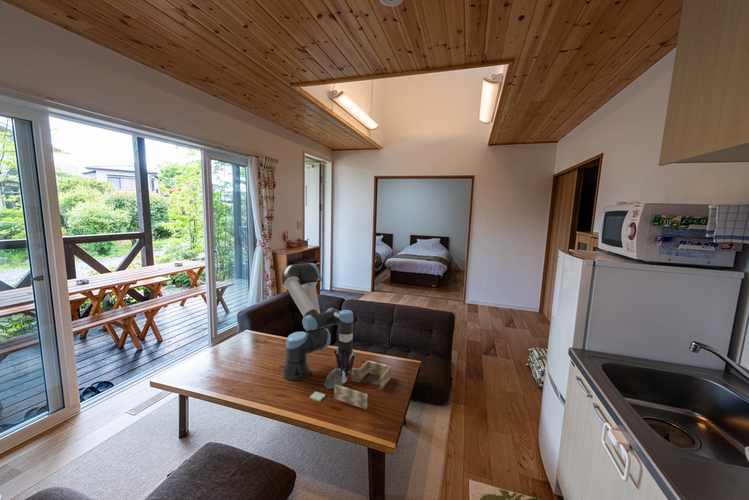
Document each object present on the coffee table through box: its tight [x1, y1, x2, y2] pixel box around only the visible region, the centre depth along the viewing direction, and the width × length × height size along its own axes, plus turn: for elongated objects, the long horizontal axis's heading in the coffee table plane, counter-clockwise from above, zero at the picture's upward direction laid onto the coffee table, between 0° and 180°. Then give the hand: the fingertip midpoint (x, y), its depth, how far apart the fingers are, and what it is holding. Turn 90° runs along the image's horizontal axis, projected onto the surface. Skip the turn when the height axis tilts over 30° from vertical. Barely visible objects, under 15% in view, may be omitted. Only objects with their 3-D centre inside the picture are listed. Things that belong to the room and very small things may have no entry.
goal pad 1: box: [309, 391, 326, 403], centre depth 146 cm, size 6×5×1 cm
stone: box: [323, 367, 345, 390], centre depth 156 cm, size 10×10×10 cm
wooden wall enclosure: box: [333, 360, 392, 410], centre depth 156 cm, size 19×32×7 cm, turn 156°
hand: (344, 381), depth 154 cm, fingers closed
